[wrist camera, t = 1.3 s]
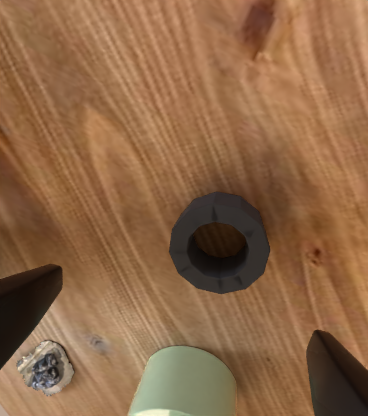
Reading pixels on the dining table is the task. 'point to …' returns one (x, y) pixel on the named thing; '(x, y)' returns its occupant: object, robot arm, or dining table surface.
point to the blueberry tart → (46, 368)
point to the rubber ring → (213, 266)
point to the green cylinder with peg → (185, 385)
